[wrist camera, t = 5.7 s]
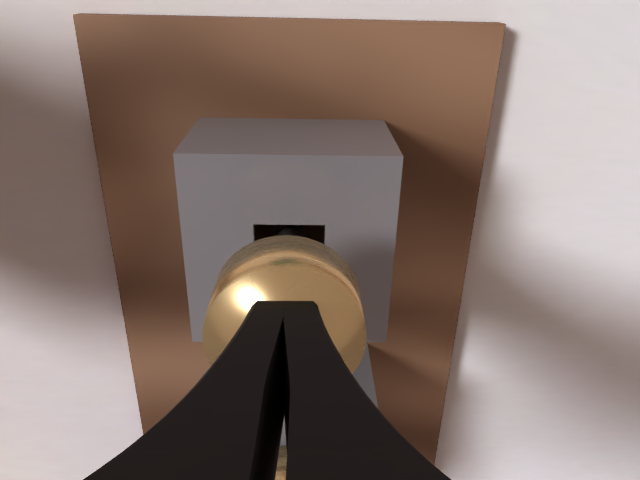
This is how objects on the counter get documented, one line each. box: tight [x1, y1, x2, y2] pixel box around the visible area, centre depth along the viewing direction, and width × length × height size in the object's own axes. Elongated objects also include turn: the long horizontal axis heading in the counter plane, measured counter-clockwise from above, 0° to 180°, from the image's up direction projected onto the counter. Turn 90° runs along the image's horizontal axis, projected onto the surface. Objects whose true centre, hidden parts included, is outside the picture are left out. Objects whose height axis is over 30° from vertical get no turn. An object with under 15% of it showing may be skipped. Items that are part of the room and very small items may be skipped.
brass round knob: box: [202, 225, 366, 374], centre depth 14 cm, size 4×4×6 cm
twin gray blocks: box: [173, 117, 404, 447], centre depth 19 cm, size 15×6×4 cm, turn 179°
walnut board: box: [73, 13, 506, 465], centre depth 21 cm, size 21×13×1 cm, turn 179°
